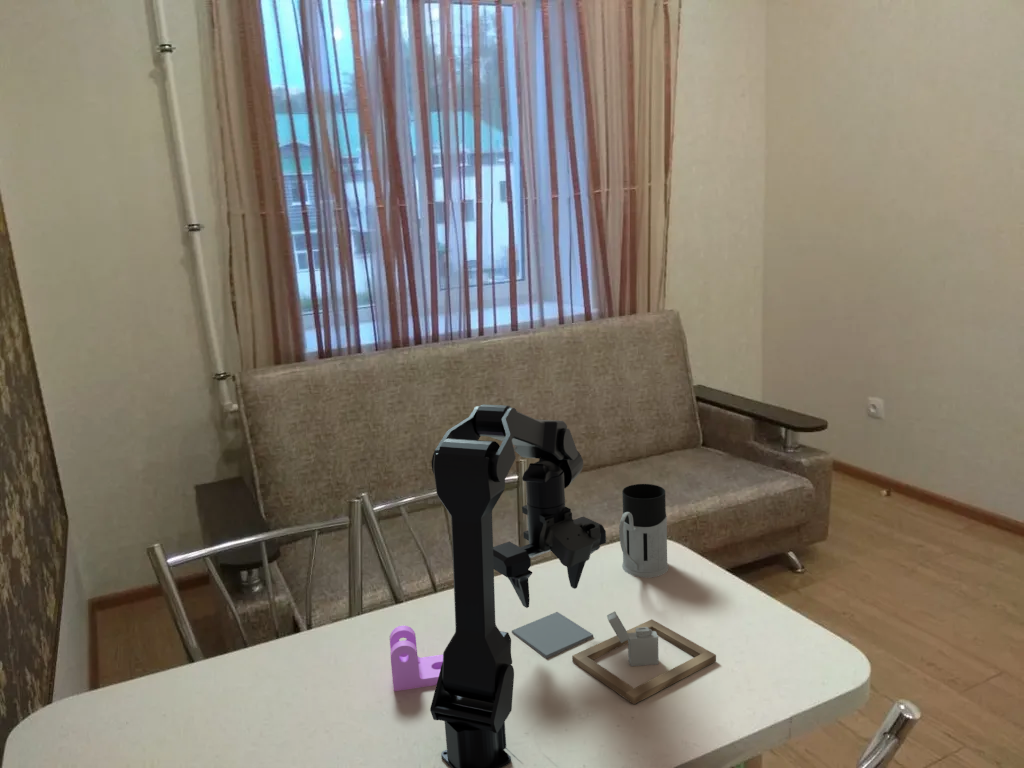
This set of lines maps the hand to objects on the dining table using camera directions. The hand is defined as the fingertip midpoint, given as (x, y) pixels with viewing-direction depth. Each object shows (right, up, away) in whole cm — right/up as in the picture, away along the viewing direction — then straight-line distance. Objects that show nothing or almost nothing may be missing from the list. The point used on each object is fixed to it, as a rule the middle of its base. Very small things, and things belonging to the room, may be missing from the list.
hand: (550, 597), depth 122 cm
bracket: (-17, -10, -7) cm, 20 cm away
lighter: (+12, -8, -7) cm, 16 cm away
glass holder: (+17, -2, +19) cm, 26 cm away
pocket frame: (+13, -8, -7) cm, 17 cm away
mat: (0, -6, +2) cm, 7 cm away
